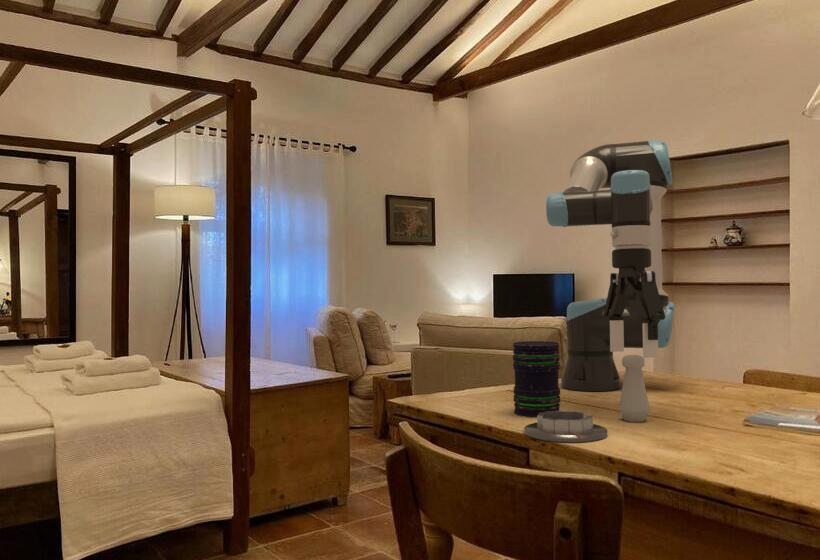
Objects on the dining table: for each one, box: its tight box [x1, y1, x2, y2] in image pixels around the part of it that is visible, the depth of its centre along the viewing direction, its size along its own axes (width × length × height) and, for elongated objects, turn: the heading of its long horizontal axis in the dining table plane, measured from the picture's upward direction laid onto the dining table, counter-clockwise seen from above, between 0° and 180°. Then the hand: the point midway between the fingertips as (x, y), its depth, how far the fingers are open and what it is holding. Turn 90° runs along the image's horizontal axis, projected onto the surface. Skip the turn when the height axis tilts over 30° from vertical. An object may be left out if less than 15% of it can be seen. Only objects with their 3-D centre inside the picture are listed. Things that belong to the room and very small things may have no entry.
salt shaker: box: [618, 354, 651, 423], centre depth 139 cm, size 6×6×13 cm
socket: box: [523, 409, 608, 444], centre depth 128 cm, size 15×15×3 cm
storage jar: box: [512, 340, 561, 418], centre depth 148 cm, size 10×10×15 cm
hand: (633, 354), depth 138 cm, fingers open, 13 cm apart
